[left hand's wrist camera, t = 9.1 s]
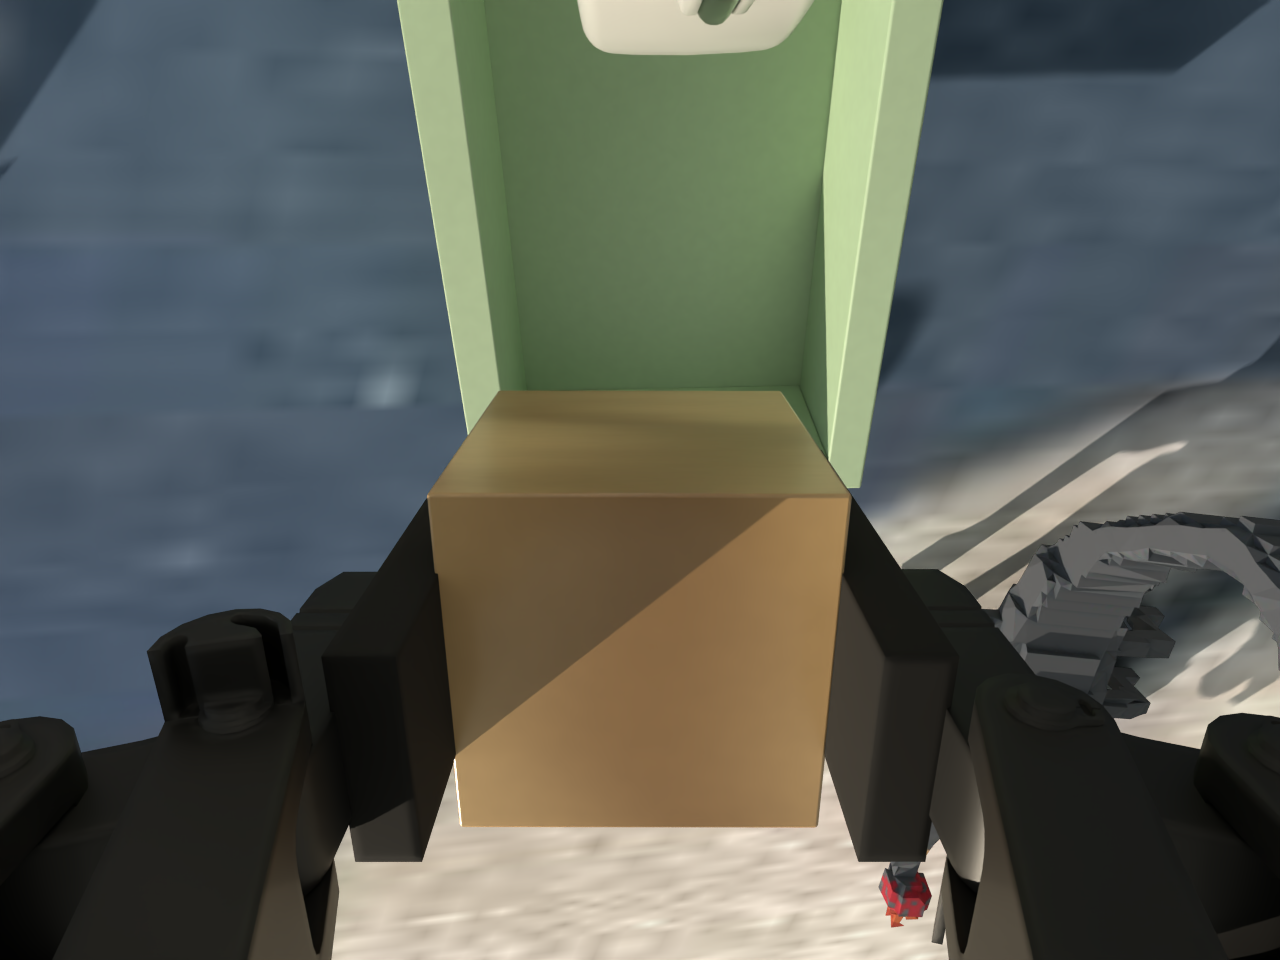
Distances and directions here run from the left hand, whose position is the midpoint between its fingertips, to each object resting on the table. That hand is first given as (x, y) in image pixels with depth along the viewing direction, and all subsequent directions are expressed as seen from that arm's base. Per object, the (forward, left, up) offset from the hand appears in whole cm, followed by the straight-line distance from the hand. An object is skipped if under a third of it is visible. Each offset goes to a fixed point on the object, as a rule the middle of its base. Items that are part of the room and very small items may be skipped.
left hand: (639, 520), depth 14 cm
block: (0, 0, 0) cm, 0 cm away
